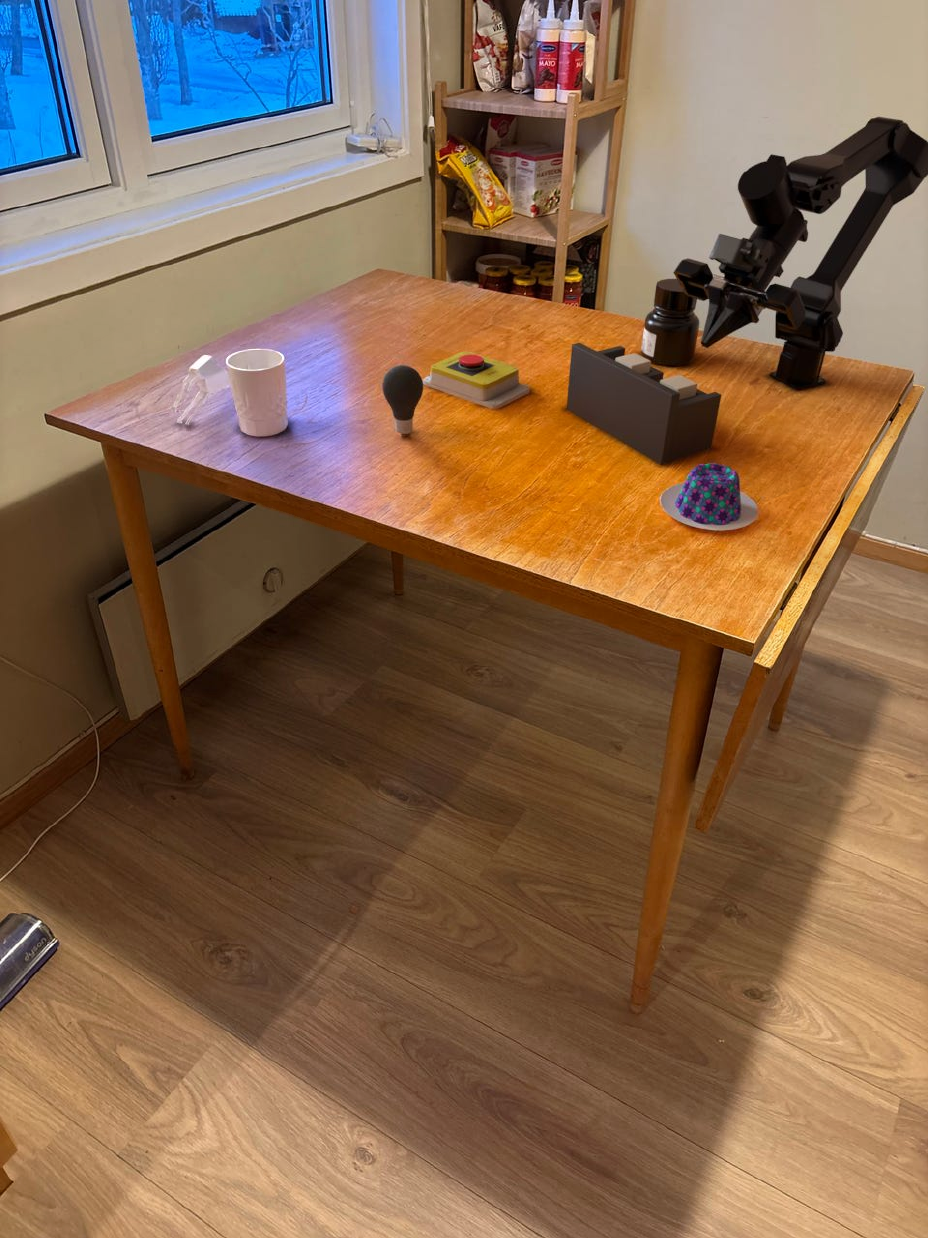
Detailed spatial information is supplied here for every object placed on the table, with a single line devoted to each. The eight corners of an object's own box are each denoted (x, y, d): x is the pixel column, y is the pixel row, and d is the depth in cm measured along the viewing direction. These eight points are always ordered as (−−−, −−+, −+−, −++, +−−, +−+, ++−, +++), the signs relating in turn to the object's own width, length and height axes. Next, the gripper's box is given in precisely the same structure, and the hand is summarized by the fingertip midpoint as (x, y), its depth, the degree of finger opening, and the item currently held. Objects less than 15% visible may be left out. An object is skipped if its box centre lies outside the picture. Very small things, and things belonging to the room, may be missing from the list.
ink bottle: (647, 343, 160) (656, 273, 153) (698, 351, 158) (710, 279, 150) (634, 363, 153) (644, 290, 146) (687, 371, 150) (700, 297, 143)
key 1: (632, 365, 135) (634, 352, 134) (649, 373, 133) (651, 360, 132) (613, 370, 134) (615, 357, 133) (630, 378, 132) (632, 365, 130)
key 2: (677, 387, 129) (679, 374, 128) (695, 396, 127) (697, 383, 126) (658, 393, 128) (660, 379, 126) (676, 402, 125) (678, 388, 124)
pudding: (771, 534, 111) (780, 495, 107) (673, 537, 110) (680, 498, 107) (739, 485, 120) (747, 448, 117) (649, 487, 119) (654, 451, 116)
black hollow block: (614, 395, 142) (621, 332, 136) (711, 448, 128) (724, 380, 122) (566, 409, 138) (571, 344, 132) (661, 465, 124) (672, 395, 118)
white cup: (301, 419, 134) (294, 353, 128) (275, 442, 128) (267, 373, 122) (253, 411, 136) (244, 345, 130) (225, 433, 130) (214, 365, 124)
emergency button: (458, 340, 148) (533, 364, 140) (458, 366, 151) (532, 391, 143) (419, 356, 142) (496, 382, 135) (420, 383, 145) (495, 410, 137)
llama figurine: (205, 457, 137) (262, 373, 145) (174, 403, 127) (237, 316, 135) (195, 455, 137) (252, 371, 145) (163, 400, 128) (226, 314, 136)
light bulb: (394, 446, 128) (391, 377, 122) (378, 430, 132) (374, 362, 125) (430, 438, 130) (429, 370, 124) (413, 422, 134) (412, 355, 128)
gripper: (693, 195, 124) (629, 294, 125) (815, 224, 113) (744, 332, 114) (717, 246, 133) (658, 338, 134) (833, 278, 122) (767, 377, 123)
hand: (703, 345), depth 126 cm, fingers closed
